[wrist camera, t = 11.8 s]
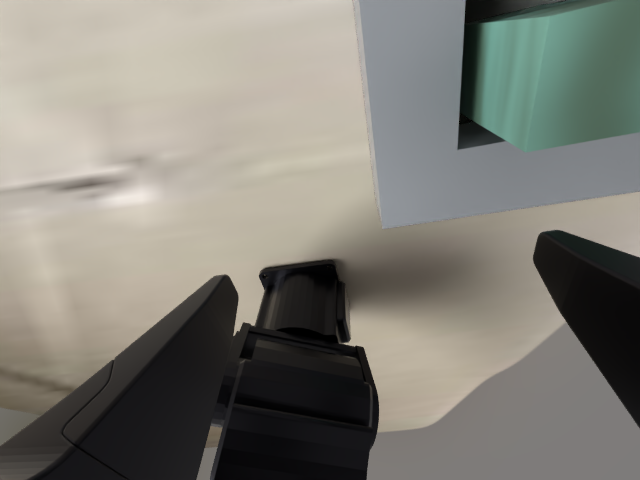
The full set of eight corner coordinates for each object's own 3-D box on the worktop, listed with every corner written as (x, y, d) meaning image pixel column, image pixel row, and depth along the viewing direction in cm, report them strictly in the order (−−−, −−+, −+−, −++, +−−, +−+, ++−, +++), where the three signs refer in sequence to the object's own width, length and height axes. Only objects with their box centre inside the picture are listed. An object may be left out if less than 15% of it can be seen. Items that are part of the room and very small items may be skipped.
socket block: (375, 198, 21) (382, 229, 17) (343, -84, 13) (346, -125, 10) (598, 162, 18) (655, 189, 15) (719, -202, 11) (888, -307, 7)
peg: (453, 108, 17) (525, 152, 11) (456, 25, 15) (549, 16, 8) (527, 93, 17) (653, 129, 10) (541, 4, 14) (716, -24, 8)
